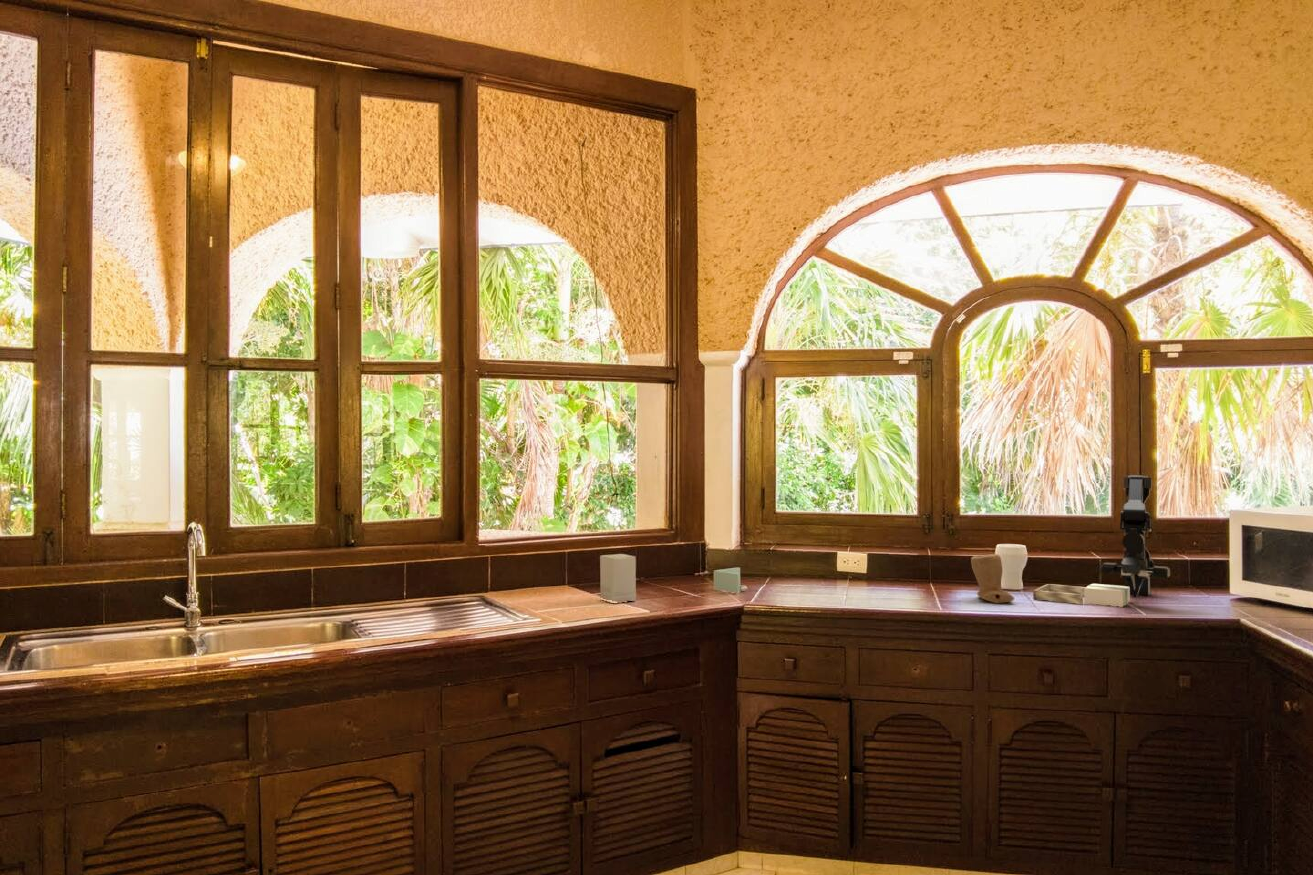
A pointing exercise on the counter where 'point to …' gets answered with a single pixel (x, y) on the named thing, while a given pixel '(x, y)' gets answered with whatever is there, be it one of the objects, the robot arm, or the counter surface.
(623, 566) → the supplement box
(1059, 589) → the tan tray
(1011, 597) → the brown boot
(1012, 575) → the cup
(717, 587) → the sage green wedge block
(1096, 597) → the carton
